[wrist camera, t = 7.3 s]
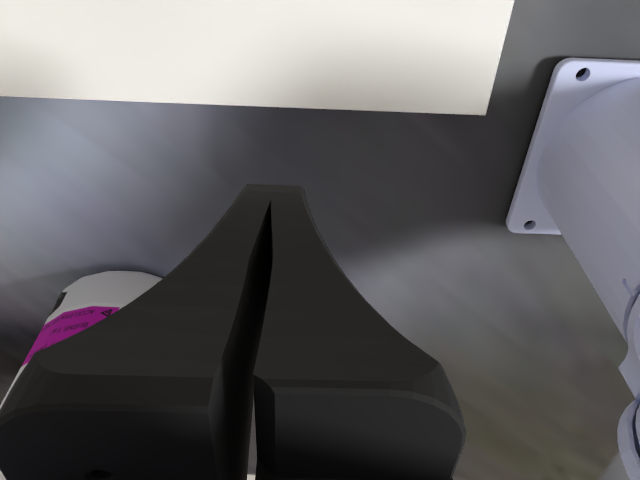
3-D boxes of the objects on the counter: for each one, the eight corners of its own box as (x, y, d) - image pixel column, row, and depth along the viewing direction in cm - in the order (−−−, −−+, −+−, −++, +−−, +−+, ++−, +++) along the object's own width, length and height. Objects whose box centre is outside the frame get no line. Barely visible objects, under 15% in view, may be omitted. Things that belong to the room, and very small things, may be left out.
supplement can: (63, 355, 31) (-97, 691, 19) (56, 246, 26) (-165, 606, 14) (205, 377, 32) (139, 704, 20) (224, 277, 27) (153, 631, 15)
